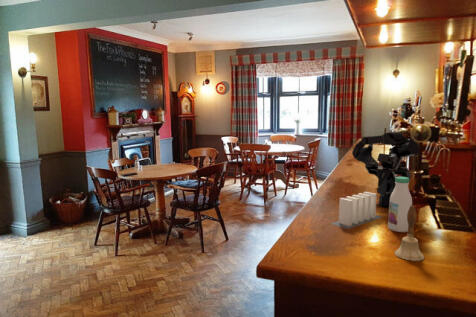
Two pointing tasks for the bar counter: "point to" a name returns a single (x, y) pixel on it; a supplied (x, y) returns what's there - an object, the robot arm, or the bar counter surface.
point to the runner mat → (355, 224)
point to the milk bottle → (399, 205)
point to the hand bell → (410, 240)
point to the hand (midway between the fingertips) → (379, 186)
